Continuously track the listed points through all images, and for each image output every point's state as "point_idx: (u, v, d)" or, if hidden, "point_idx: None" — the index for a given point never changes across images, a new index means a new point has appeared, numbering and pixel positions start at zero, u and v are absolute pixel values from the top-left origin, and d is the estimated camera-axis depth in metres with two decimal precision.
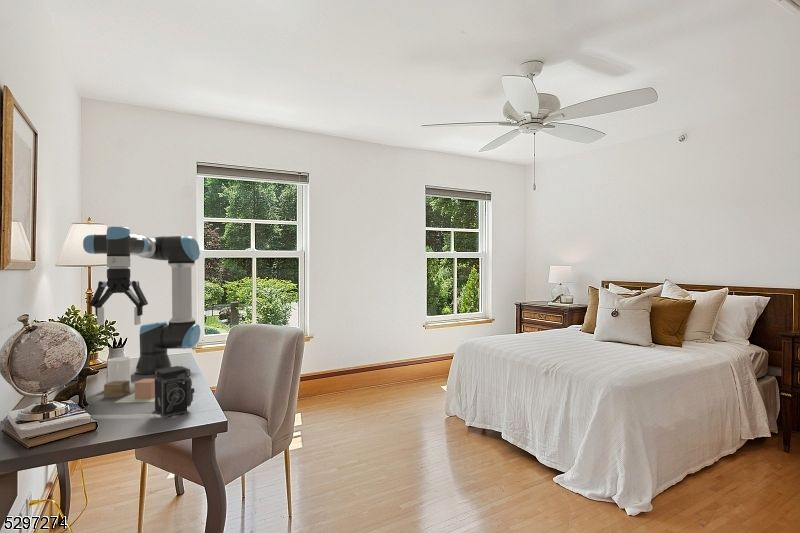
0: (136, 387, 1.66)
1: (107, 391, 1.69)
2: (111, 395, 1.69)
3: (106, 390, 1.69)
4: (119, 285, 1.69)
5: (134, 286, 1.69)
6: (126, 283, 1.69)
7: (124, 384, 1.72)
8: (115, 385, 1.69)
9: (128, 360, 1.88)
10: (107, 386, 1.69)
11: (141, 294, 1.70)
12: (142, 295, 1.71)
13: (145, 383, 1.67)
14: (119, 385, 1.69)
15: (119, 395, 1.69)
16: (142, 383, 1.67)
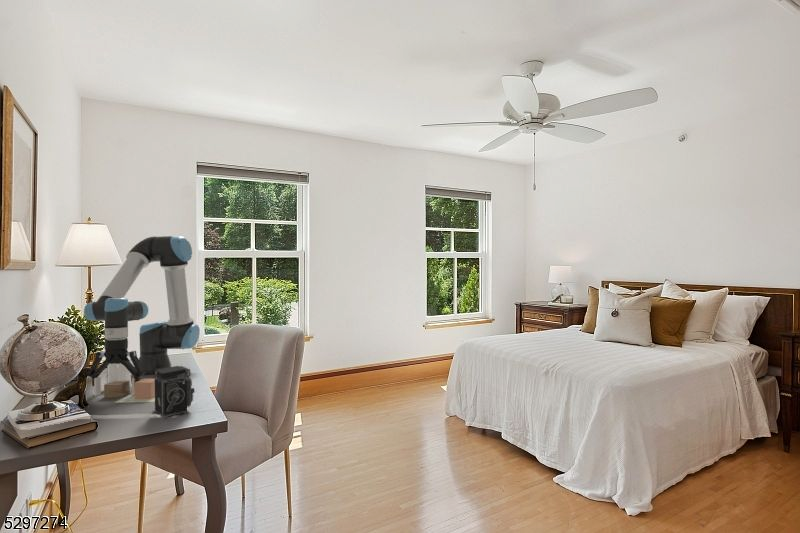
0: (136, 387, 1.66)
1: (107, 391, 1.69)
2: (111, 395, 1.69)
3: (106, 390, 1.69)
4: (116, 356, 1.70)
5: (131, 357, 1.71)
6: (123, 354, 1.71)
7: (124, 384, 1.72)
8: (115, 385, 1.69)
9: None
10: (107, 386, 1.69)
11: (138, 364, 1.72)
12: (139, 365, 1.73)
13: (145, 383, 1.67)
14: (119, 385, 1.69)
15: (119, 395, 1.69)
16: (142, 383, 1.67)
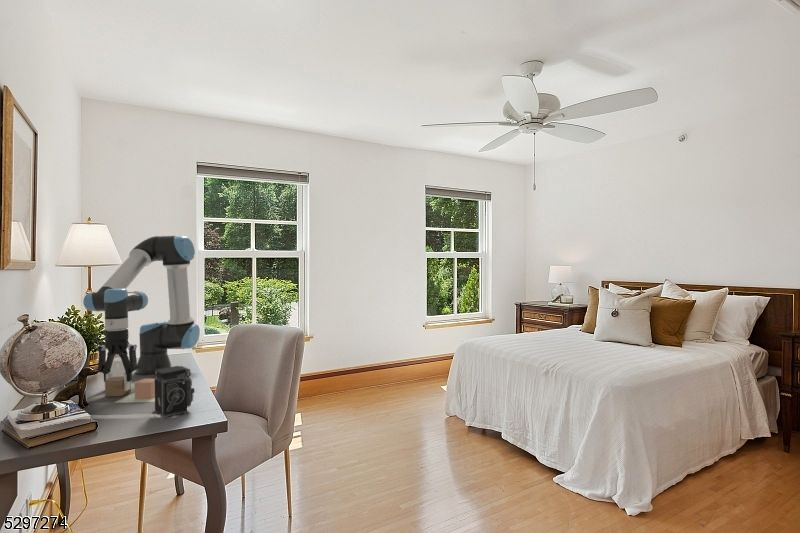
0: (136, 387, 1.66)
1: (108, 387, 1.70)
2: (112, 391, 1.70)
3: (107, 385, 1.70)
4: (117, 347, 1.71)
5: (130, 351, 1.72)
6: (124, 345, 1.72)
7: None
8: (116, 381, 1.70)
9: None
10: (108, 381, 1.70)
11: (134, 360, 1.73)
12: (134, 361, 1.73)
13: (145, 383, 1.67)
14: (120, 381, 1.70)
15: (120, 391, 1.70)
16: (142, 383, 1.67)
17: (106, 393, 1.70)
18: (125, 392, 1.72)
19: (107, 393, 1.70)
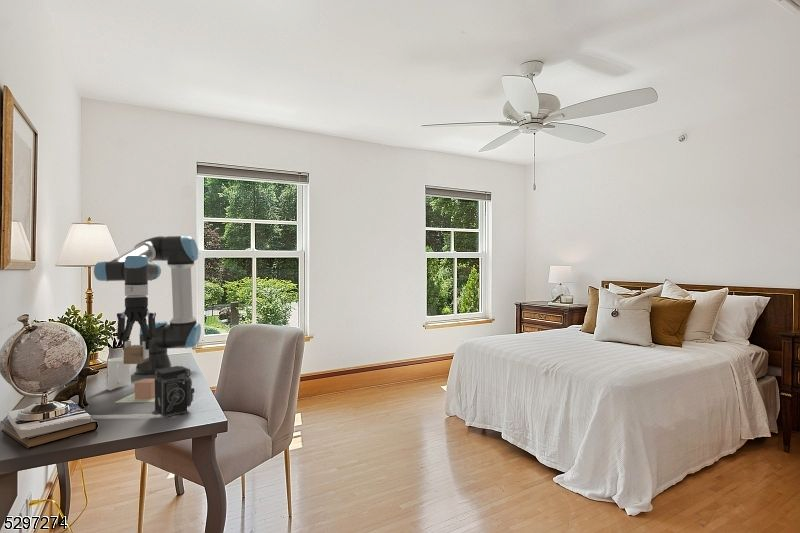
0: (136, 387, 1.66)
1: (126, 354, 1.67)
2: (130, 358, 1.67)
3: (125, 353, 1.67)
4: (137, 314, 1.68)
5: (150, 318, 1.69)
6: (144, 312, 1.69)
7: None
8: (134, 348, 1.67)
9: None
10: (127, 349, 1.67)
11: (153, 327, 1.70)
12: (153, 328, 1.70)
13: (145, 383, 1.67)
14: (138, 348, 1.67)
15: (138, 358, 1.67)
16: (142, 383, 1.67)
17: (125, 361, 1.67)
18: (143, 360, 1.69)
19: (125, 361, 1.67)
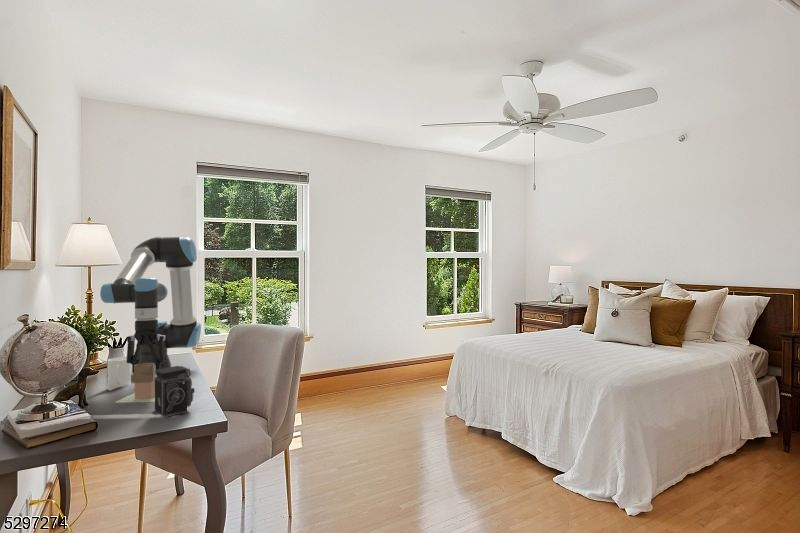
0: (136, 387, 1.66)
1: (137, 373, 1.66)
2: (141, 377, 1.66)
3: (136, 371, 1.66)
4: (147, 337, 1.67)
5: (160, 341, 1.68)
6: (154, 335, 1.68)
7: None
8: (145, 367, 1.66)
9: None
10: (137, 367, 1.66)
11: (163, 350, 1.69)
12: (164, 351, 1.70)
13: (145, 383, 1.67)
14: (149, 367, 1.66)
15: (149, 377, 1.66)
16: (142, 383, 1.67)
17: (135, 379, 1.66)
18: None
19: (136, 379, 1.66)
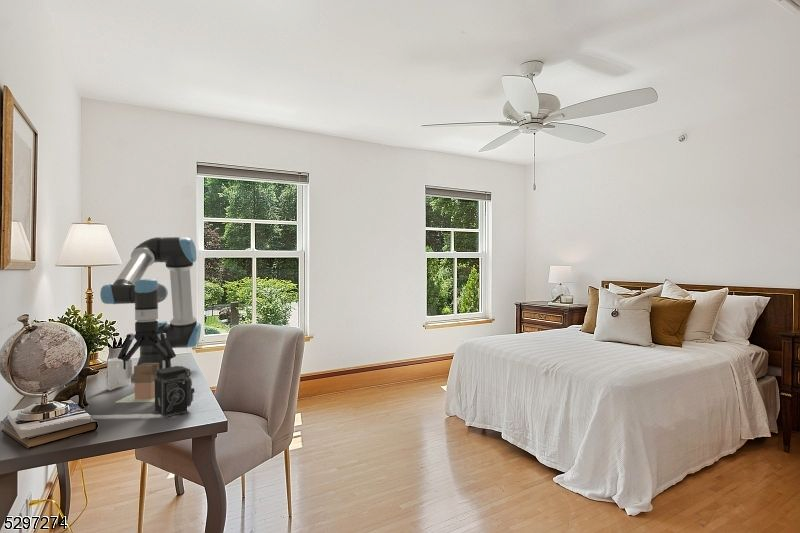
0: (136, 387, 1.66)
1: (137, 373, 1.66)
2: (141, 377, 1.66)
3: (136, 371, 1.66)
4: (147, 338, 1.68)
5: (162, 339, 1.68)
6: (154, 336, 1.69)
7: (154, 366, 1.69)
8: (145, 367, 1.66)
9: None
10: (137, 367, 1.66)
11: (169, 347, 1.69)
12: (170, 348, 1.70)
13: (145, 383, 1.67)
14: (149, 367, 1.66)
15: (149, 377, 1.66)
16: (142, 383, 1.67)
17: (135, 379, 1.66)
18: (154, 379, 1.69)
19: (136, 379, 1.66)
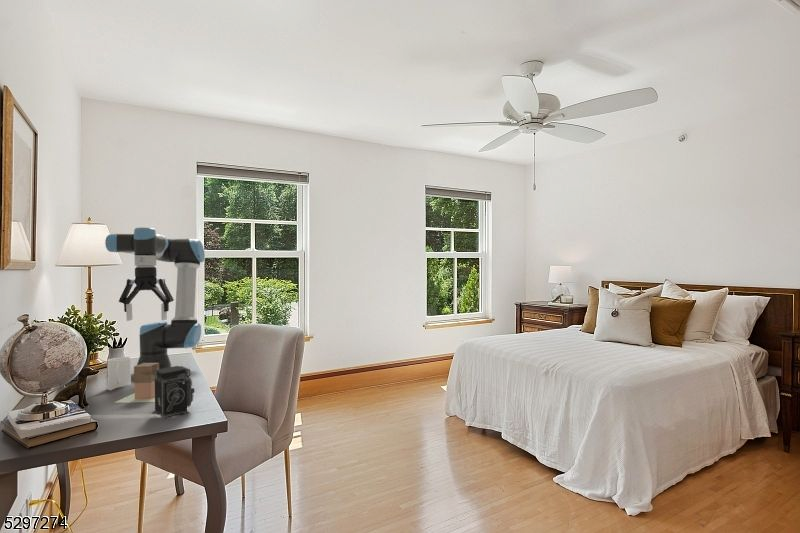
0: (136, 387, 1.66)
1: (137, 373, 1.66)
2: (141, 377, 1.66)
3: (136, 371, 1.66)
4: (147, 283, 1.79)
5: (161, 284, 1.79)
6: (153, 281, 1.79)
7: (154, 366, 1.69)
8: (145, 367, 1.66)
9: (128, 360, 1.88)
10: (137, 367, 1.66)
11: (167, 291, 1.81)
12: (168, 292, 1.81)
13: (145, 383, 1.67)
14: (149, 367, 1.66)
15: (149, 377, 1.66)
16: (142, 383, 1.67)
17: (135, 379, 1.66)
18: (154, 379, 1.69)
19: (136, 379, 1.66)
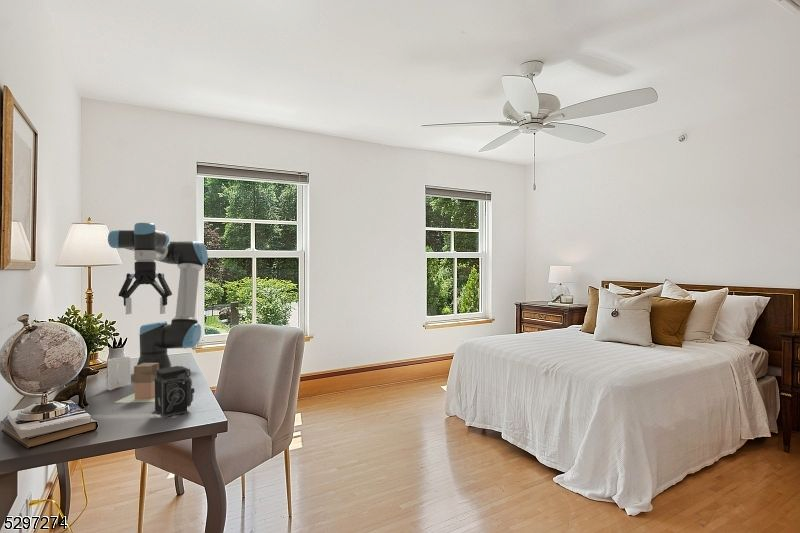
0: (136, 387, 1.66)
1: (137, 373, 1.66)
2: (141, 377, 1.66)
3: (136, 371, 1.66)
4: (146, 277, 1.82)
5: (160, 278, 1.83)
6: (152, 275, 1.83)
7: (154, 366, 1.69)
8: (145, 367, 1.66)
9: (128, 360, 1.88)
10: (137, 367, 1.66)
11: (166, 285, 1.84)
12: (167, 286, 1.84)
13: (145, 383, 1.67)
14: (149, 367, 1.66)
15: (149, 377, 1.66)
16: (142, 383, 1.67)
17: (135, 379, 1.66)
18: (154, 379, 1.69)
19: (136, 379, 1.66)
